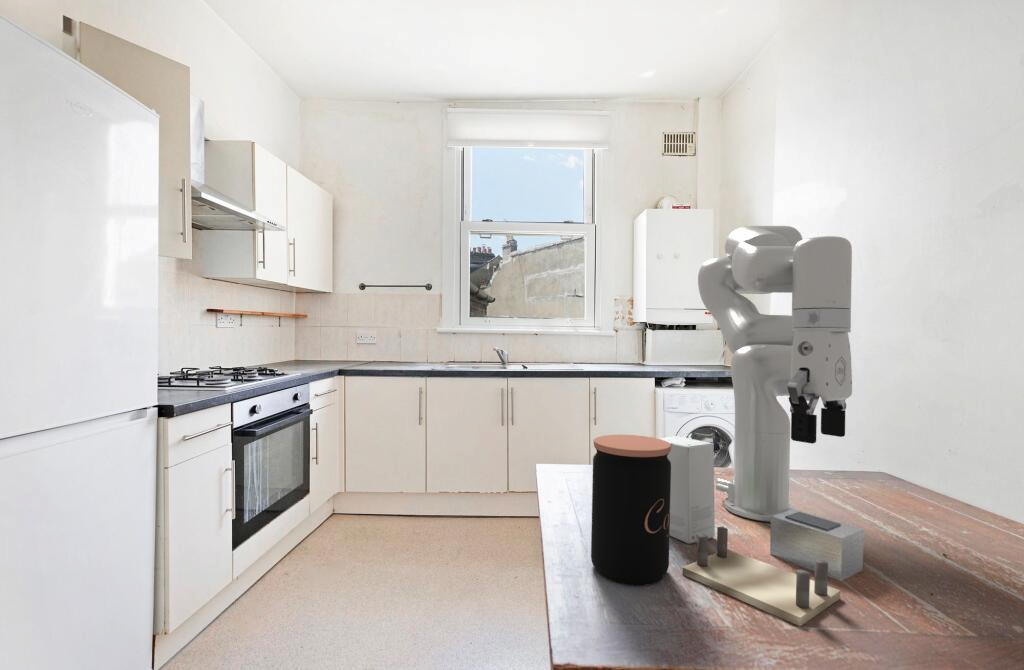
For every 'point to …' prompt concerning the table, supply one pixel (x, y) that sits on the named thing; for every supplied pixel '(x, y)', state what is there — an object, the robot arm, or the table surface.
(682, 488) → the skincare box
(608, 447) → the coffee jar
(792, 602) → the cream peg board
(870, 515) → the table surface
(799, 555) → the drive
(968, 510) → the table surface
